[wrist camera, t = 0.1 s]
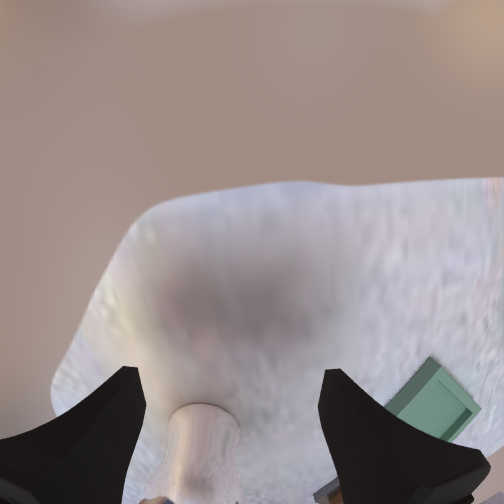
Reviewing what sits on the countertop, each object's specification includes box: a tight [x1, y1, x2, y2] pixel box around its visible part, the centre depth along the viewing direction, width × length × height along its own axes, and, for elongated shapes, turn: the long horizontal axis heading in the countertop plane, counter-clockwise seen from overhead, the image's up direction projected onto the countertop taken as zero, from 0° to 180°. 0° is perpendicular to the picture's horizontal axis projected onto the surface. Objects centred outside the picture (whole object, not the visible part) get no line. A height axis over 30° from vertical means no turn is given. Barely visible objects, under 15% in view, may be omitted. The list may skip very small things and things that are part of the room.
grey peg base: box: [313, 477, 341, 504], centre depth 22 cm, size 7×7×4 cm
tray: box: [384, 357, 481, 443], centre depth 22 cm, size 11×11×2 cm
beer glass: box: [137, 404, 246, 504], centre depth 15 cm, size 7×7×15 cm
